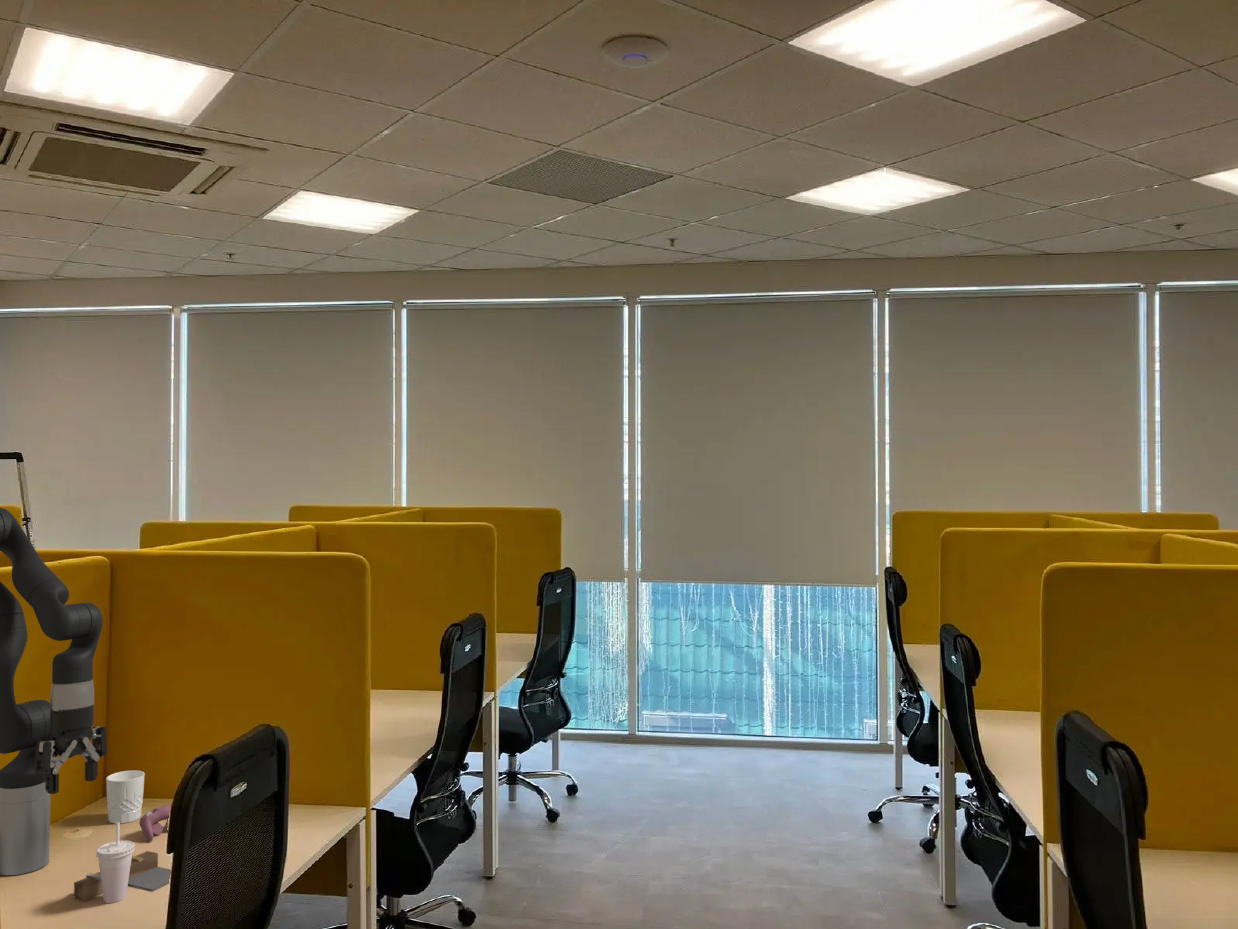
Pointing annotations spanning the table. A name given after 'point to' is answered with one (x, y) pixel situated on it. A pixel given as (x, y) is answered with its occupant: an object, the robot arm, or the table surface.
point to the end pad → (151, 879)
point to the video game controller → (154, 821)
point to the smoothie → (115, 868)
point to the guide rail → (92, 882)
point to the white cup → (125, 796)
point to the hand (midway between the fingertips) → (72, 787)
